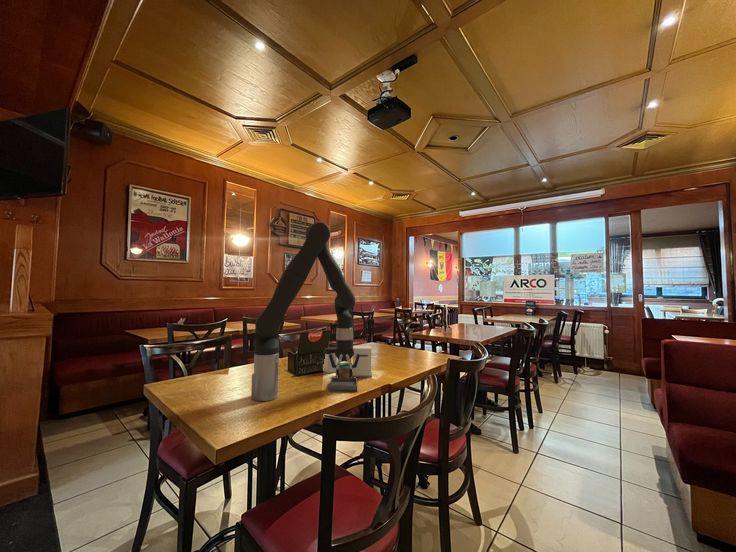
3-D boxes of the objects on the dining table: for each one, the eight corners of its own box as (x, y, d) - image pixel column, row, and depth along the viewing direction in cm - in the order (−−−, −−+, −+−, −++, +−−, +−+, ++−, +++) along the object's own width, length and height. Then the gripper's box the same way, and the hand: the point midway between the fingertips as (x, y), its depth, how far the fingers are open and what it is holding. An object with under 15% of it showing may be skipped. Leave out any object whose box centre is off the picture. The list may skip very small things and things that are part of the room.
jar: (342, 371, 158) (343, 348, 158) (329, 374, 153) (329, 350, 153) (333, 368, 165) (333, 345, 165) (320, 370, 160) (320, 347, 160)
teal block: (338, 379, 130) (338, 365, 130) (339, 377, 134) (339, 363, 135) (349, 379, 130) (349, 365, 130) (349, 376, 134) (349, 363, 135)
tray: (328, 391, 126) (328, 385, 126) (331, 383, 138) (331, 377, 138) (357, 391, 126) (357, 385, 126) (357, 383, 138) (357, 377, 138)
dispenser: (351, 377, 147) (352, 348, 148) (352, 373, 155) (352, 345, 156) (372, 377, 147) (372, 348, 148) (371, 373, 155) (371, 345, 156)
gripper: (327, 339, 129) (327, 379, 128) (360, 339, 129) (360, 379, 129) (329, 336, 137) (328, 374, 136) (360, 336, 137) (360, 374, 136)
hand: (344, 377), depth 132 cm, fingers closed on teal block, 4 cm apart
